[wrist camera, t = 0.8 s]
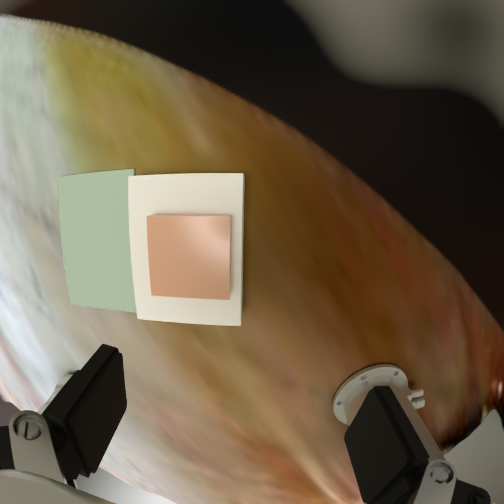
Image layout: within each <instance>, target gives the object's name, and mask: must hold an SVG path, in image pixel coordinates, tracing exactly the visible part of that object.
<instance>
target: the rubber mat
mask: <svg viewBox="0 0 504 504" xmlns="http://www.w3.org/2000/svg"><path fill="white" fill-rule="evenodd" d="M128 176H135V169H126V170H114V171H103V172H94V173H85V174H77V175H69V176H62V177H58V190H59V219H60V233H61V244H62V254H63V262H64V269H65V276H66V283H67V289H68V294H69V300H70V304H72V305H79V306H86V307H94V308H101V309H110V310H118V311H127V312H137V311H136V303H135V295H134V286H133V276H132V265H131V252H130V236H129V210H128Z"/></svg>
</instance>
